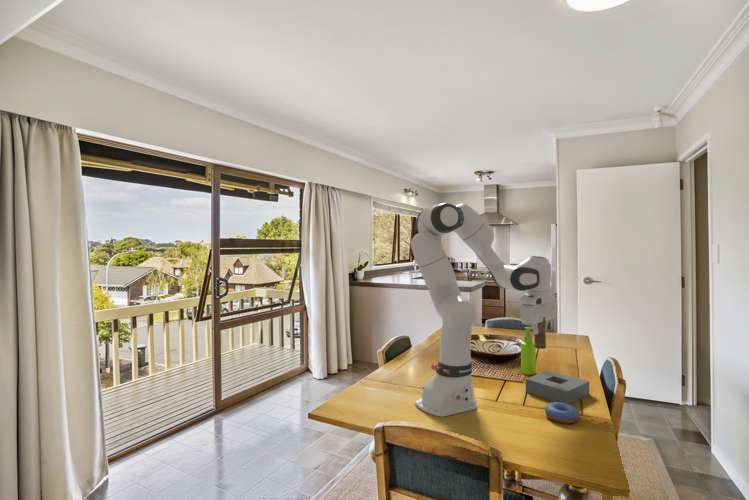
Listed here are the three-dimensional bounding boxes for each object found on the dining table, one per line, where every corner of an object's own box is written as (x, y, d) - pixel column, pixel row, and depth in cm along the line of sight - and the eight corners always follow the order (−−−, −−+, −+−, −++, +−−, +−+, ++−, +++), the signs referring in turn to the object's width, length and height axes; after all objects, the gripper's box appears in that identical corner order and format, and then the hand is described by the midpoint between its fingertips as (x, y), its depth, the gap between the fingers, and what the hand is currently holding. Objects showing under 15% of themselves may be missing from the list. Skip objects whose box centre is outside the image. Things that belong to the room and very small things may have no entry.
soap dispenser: (536, 376, 163) (535, 329, 163) (519, 373, 167) (519, 327, 167) (539, 372, 168) (539, 327, 167) (523, 369, 172) (523, 325, 172)
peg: (542, 349, 147) (541, 318, 146) (532, 347, 150) (531, 316, 150) (547, 347, 149) (547, 316, 149) (538, 345, 152) (537, 315, 152)
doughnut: (579, 427, 118) (578, 412, 118) (543, 422, 123) (543, 407, 123) (579, 417, 127) (579, 403, 127) (546, 413, 132) (546, 399, 132)
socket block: (567, 405, 134) (567, 391, 134) (525, 391, 147) (525, 378, 147) (589, 394, 143) (589, 381, 143) (548, 382, 156) (548, 370, 156)
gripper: (545, 293, 158) (546, 327, 158) (516, 299, 146) (517, 336, 146) (560, 295, 153) (561, 329, 153) (532, 301, 140) (533, 339, 141)
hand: (539, 333), depth 149 cm, fingers closed on peg, 4 cm apart
